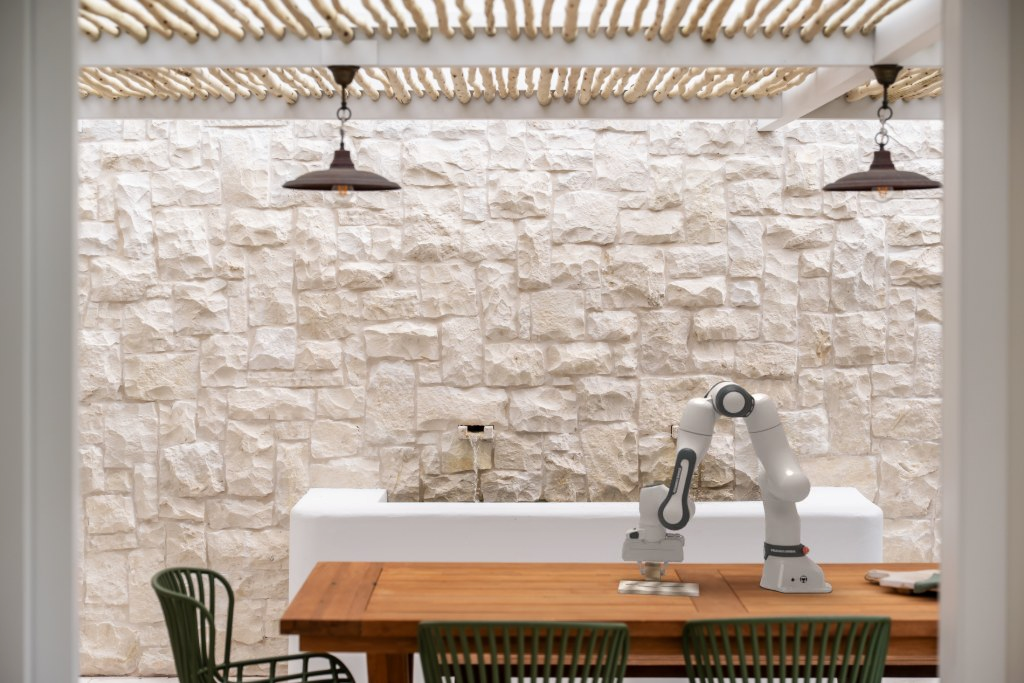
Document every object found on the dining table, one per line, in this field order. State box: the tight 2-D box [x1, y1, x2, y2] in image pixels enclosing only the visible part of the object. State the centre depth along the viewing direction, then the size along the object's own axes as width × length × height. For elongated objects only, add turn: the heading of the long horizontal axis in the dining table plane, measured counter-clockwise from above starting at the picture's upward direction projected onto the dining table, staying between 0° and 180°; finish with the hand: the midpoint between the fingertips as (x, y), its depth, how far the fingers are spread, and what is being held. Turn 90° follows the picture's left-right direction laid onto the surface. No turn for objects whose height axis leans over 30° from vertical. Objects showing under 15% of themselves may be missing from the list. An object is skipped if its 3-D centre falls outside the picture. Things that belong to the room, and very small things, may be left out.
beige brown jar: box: [644, 561, 662, 582], centre depth 364 cm, size 5×9×5 cm, turn 171°
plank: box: [617, 579, 700, 597], centre depth 352 cm, size 25×13×1 cm, turn 82°
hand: (652, 575), depth 364 cm, fingers closed on beige brown jar, 5 cm apart
